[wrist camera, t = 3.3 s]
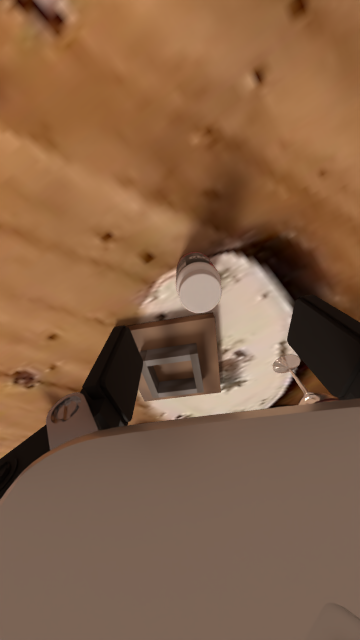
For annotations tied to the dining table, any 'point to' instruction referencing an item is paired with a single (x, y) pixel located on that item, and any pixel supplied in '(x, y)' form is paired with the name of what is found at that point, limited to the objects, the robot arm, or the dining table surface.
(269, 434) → the robot arm
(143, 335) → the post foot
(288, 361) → the wineglass
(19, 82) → the dining table surface
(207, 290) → the pill bottle
